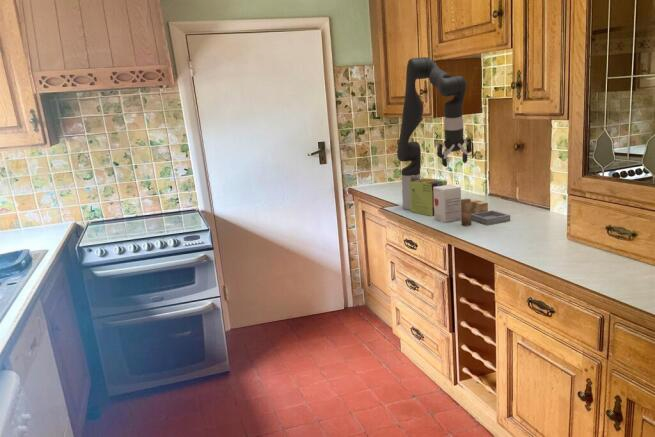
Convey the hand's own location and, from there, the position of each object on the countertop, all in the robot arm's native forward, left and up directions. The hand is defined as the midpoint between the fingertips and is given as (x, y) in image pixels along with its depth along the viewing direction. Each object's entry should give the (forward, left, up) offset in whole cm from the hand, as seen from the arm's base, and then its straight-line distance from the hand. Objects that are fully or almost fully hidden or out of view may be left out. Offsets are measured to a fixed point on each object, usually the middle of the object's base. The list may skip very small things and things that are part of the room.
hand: (454, 164), depth 218 cm
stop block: (-10, +18, -26) cm, 33 cm away
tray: (+3, +15, -26) cm, 30 cm away
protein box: (-28, +3, -26) cm, 39 cm away
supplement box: (-10, +2, -26) cm, 28 cm away
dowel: (+3, +3, -26) cm, 26 cm away
